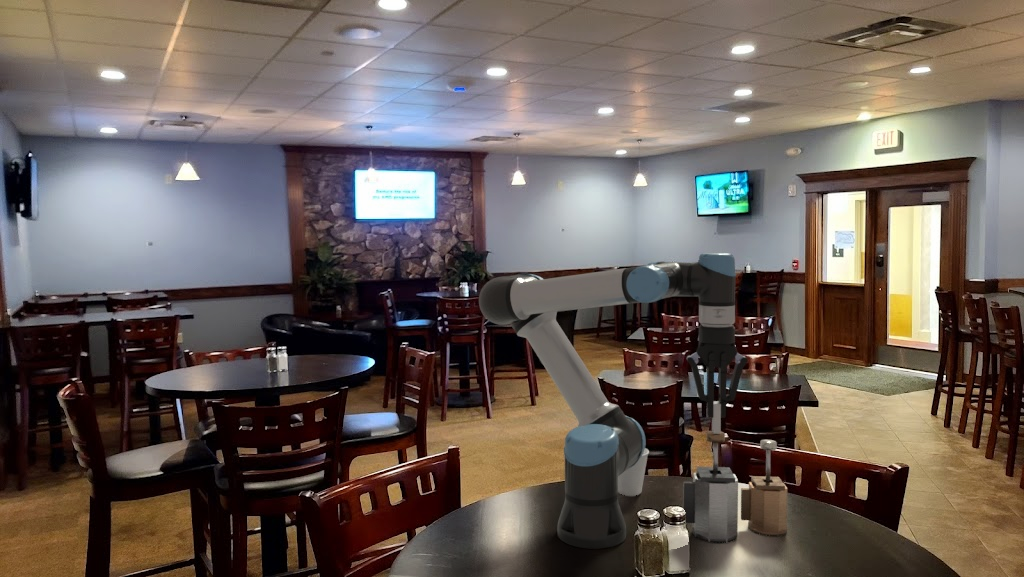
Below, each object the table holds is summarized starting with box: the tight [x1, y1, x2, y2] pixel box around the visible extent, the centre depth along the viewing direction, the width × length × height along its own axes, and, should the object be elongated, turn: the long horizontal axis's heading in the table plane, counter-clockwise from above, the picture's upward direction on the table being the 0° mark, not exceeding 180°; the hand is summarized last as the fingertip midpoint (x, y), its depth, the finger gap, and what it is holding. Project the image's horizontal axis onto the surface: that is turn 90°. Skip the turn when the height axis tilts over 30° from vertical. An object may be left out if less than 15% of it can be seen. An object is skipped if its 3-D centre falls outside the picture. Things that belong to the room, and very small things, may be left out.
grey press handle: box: [754, 439, 779, 491], centre depth 162 cm, size 6×6×11 cm
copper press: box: [740, 475, 788, 538], centre depth 162 cm, size 10×8×11 cm
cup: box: [618, 447, 650, 497], centre depth 186 cm, size 10×10×11 cm
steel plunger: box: [706, 430, 726, 474], centre depth 159 cm, size 7×7×13 cm
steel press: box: [682, 466, 739, 544], centre depth 160 cm, size 12×10×14 cm
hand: (716, 431), depth 158 cm, fingers closed
